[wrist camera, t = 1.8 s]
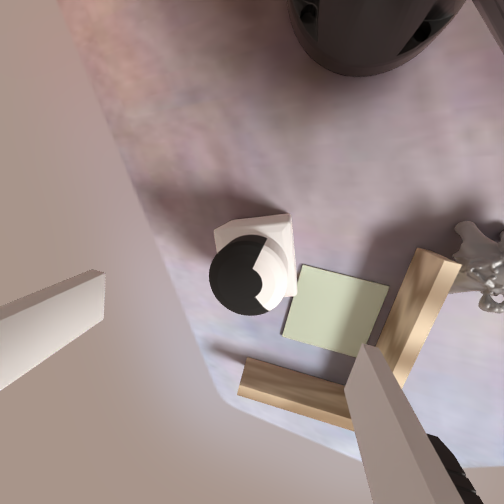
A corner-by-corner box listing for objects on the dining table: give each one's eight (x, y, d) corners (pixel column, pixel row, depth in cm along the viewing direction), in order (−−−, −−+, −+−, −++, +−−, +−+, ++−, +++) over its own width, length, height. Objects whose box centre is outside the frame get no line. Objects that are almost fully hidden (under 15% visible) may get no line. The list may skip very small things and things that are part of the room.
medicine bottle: (239, 276, 31) (207, 328, 19) (230, 219, 29) (190, 240, 18) (296, 272, 29) (299, 325, 18) (291, 212, 28) (290, 229, 16)
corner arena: (282, 215, 28) (280, 221, 23) (431, 250, 26) (462, 264, 22) (244, 365, 34) (237, 394, 29) (364, 401, 32) (377, 438, 28)
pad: (302, 264, 29) (302, 265, 29) (388, 285, 28) (389, 286, 28) (282, 335, 32) (282, 336, 32) (359, 357, 31) (360, 358, 31)
